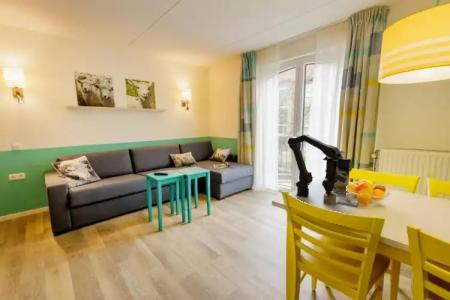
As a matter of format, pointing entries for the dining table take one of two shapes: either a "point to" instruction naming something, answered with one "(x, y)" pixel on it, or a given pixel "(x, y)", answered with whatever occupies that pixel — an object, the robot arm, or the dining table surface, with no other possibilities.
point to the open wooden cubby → (329, 198)
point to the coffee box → (339, 185)
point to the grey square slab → (347, 200)
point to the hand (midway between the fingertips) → (329, 193)
